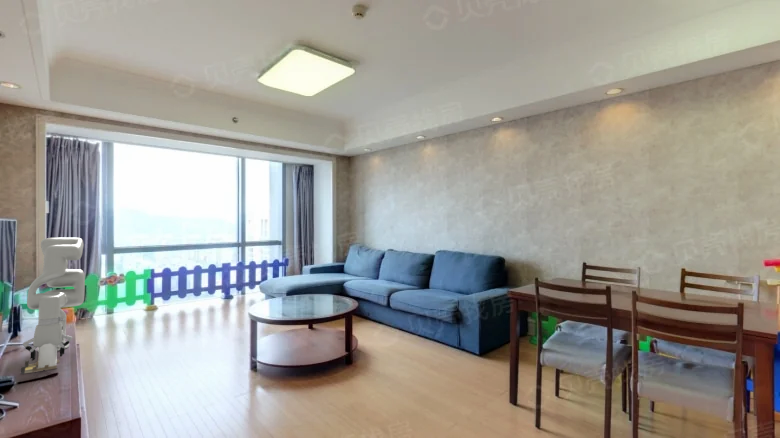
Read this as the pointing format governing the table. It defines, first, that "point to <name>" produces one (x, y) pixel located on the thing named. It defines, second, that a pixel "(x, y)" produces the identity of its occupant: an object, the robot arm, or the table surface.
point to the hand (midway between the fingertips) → (47, 357)
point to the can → (47, 355)
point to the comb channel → (36, 367)
